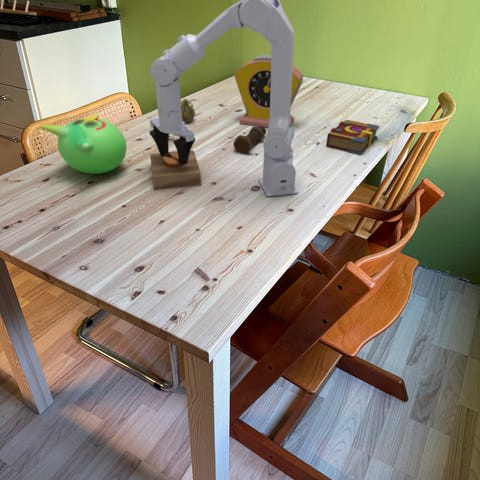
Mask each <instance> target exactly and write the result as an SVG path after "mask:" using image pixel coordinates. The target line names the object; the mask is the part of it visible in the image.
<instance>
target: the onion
mask: <svg viewBox="0 0 480 480" xmlns="http://www.w3.org/2000/svg"><path fill="white" fill-rule="evenodd" d="M181 110H182V122H185V123H189V122H190V121H193V120H194V117H195V115H196V111H195V109H194V104H193V102H192V100H190V99H187V98H183V100H181Z"/></svg>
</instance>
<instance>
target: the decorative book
mask: <svg viewBox="0 0 480 480" xmlns="http://www.w3.org/2000/svg"><path fill="white" fill-rule="evenodd" d="M378 129H380V125H377V124H373V123H364V122H358V121H354V120H349V119H345V120H343V121H339V123H338V125H336V127H332V128H331V129H330V132H329V133H327V136H326V137H327V138H326V144H325V145H326V147H327V148H332V149H337V150H342V151H346V152H348V153H351V154H353V155H354V154H355V155H359V156H361V155H362V154H363V153H364V152H365V151H366V149H367V148H370V147H371V144H372V143H374V142H375V141H376V140H377V139H378V136H377V131H378Z"/></svg>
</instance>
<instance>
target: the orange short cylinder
mask: <svg viewBox="0 0 480 480" xmlns="http://www.w3.org/2000/svg"><path fill="white" fill-rule="evenodd" d="M163 160H164V165H165V166H167V167H173V168H174V167H180V166H183V165H180V163H179V158H178V152H177V150H175V151H169V152H168V153H165V154H164V155H163Z"/></svg>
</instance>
